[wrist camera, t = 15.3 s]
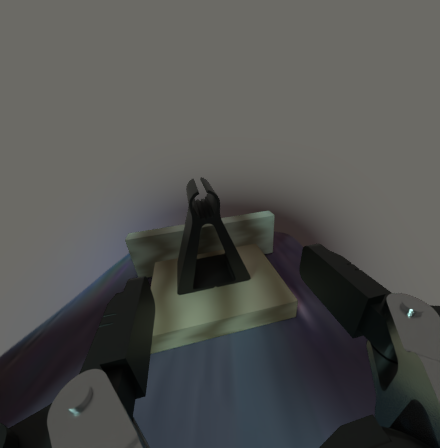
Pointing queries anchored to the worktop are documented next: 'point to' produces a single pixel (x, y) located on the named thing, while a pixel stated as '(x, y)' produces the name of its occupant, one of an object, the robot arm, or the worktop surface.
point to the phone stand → (187, 261)
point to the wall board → (218, 296)
